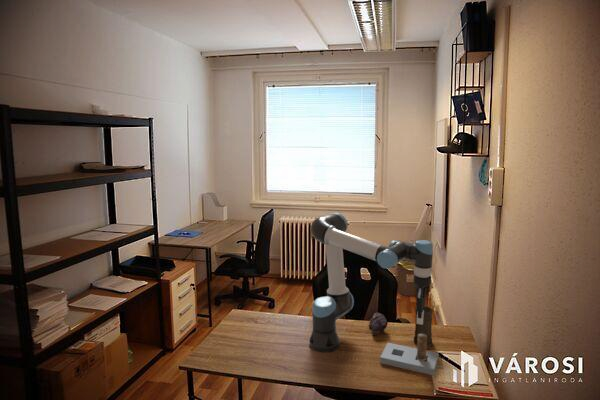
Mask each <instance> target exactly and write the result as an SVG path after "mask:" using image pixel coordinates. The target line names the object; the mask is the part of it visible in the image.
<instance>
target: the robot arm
mask: <svg viewBox="0 0 600 400" xmlns="http://www.w3.org/2000/svg"><path fill="white" fill-rule="evenodd" d="M348 225H349V224H348V220H347V218H346V217H345V216H344V215H343V214H341V213H340V212H331V213H330V212H329V213H327V214H325V215H322V216H319V217H317V218H314V220H313V221H312V222H311V224H310V234H311V235H312V237H313V238H314V240H316V241H318V242H319V243H321V244H324V245H325V253H326V265H327V266H326V267H327V276H328V278H327V279H328V288H327V289H326V296H320V297H317V298H316V299H315V300H314V301H313V302H312V306H311V307H312V308H311V314H312V315H311V316H312V318H311V319H312V330H311V334H310V337H309V347H310V348H311V349H313V350H314V351H316V352H320V353H328V352H329V353H330V352H333V351H336V350H337V349H338V348H340V338H339V334H338V332H337V320H339V319H340V318H342V317H343V316H345V315H347V314H348V313H349V312H350V311H351V310H352V309H353V307H354V305H355V304H354V303H355V300H354V299H355V298H354V296H353V294H352V293H351V292H350V289H349V288H348V287H347V286H346V276H345V275H346V274H345V264H344V252H343V251H344V250H346V251H349V252H351V253H354V254H357V255H359V256H362V257H364V258H367V259H369V260H372V261H375V262H377V264H378V265H379V266H380V267H381V268H382V269H390V268H393V267H395V266H396V265H398V264H399V263H400V262H401V261H403V260H408V261H414V265H413V279H412V281H413V283H414V284H415V285H417V287H416V294H415V296H416V297H415V298H416V300H415V302H416V303H415V304H416V307H415V309H416V310H415V309H414V312H415V311H417V322H416V321H415V325H416V324H421V325H423V316H424V310H425V309H426V308H424V306H426V297H427V290H428V286H430V285H431V284H432V272H433V271H434V269H433V268H432V267H433V257H434V256H433V255H434V245H433V243H432V241H429V240H427V239H424V240H423V239H418V240H416V241H415V243H412V242H406V241H402V240H395V239H394V240H391V241H390V243H389V244H388V246H385V245H382V244H379V243H376V242H373V241H372V240H368V239H366V238H362V237H361V236H360V237H359V236H357V235H354V234H351V233H349V232H347V230H348Z"/></svg>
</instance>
